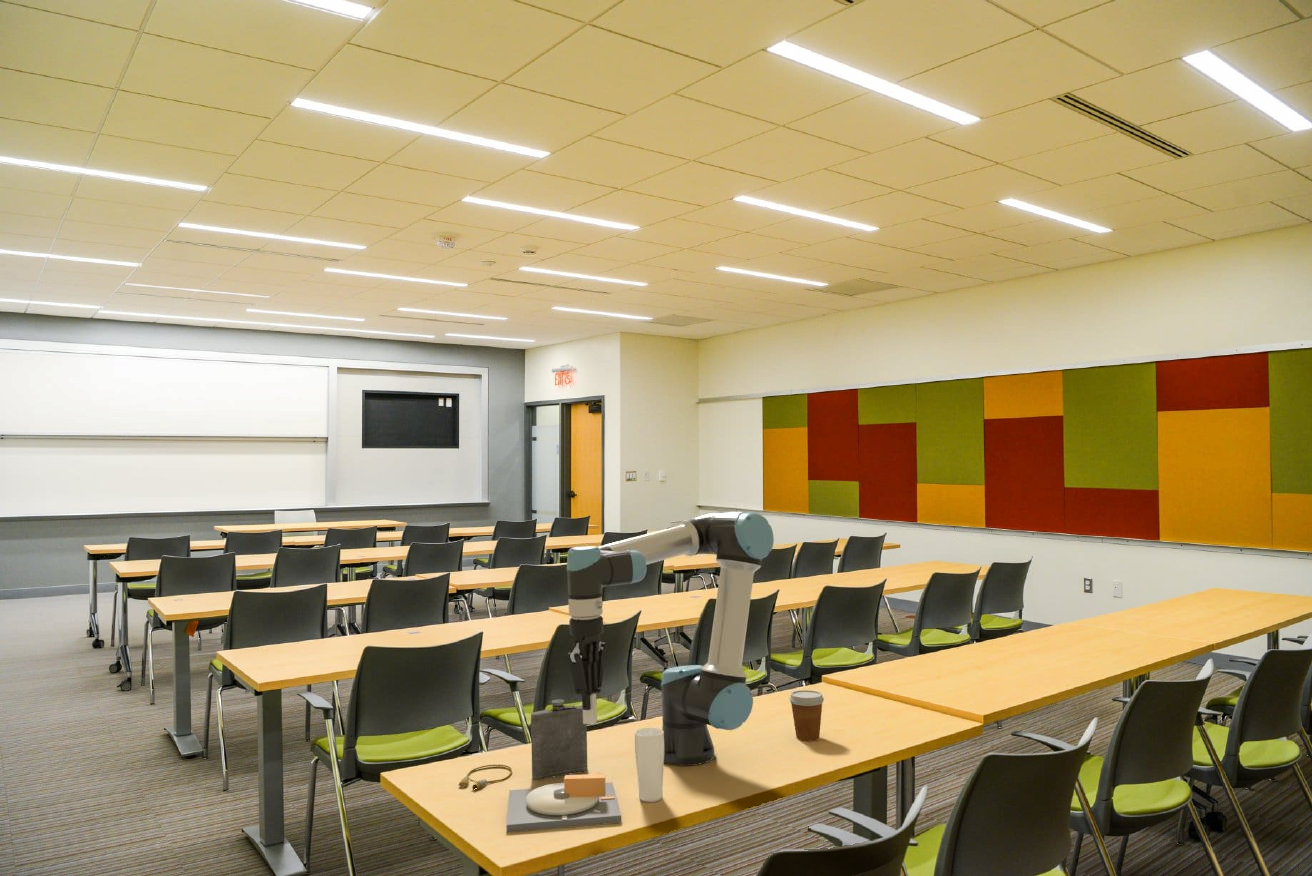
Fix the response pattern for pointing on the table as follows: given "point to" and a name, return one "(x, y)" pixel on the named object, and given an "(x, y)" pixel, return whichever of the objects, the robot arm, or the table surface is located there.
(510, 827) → the dial housing
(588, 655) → the robot arm
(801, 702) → the disposable coffee cup
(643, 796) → the drinking glass
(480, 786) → the extension cord
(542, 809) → the dial
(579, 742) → the flask
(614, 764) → the table surface
